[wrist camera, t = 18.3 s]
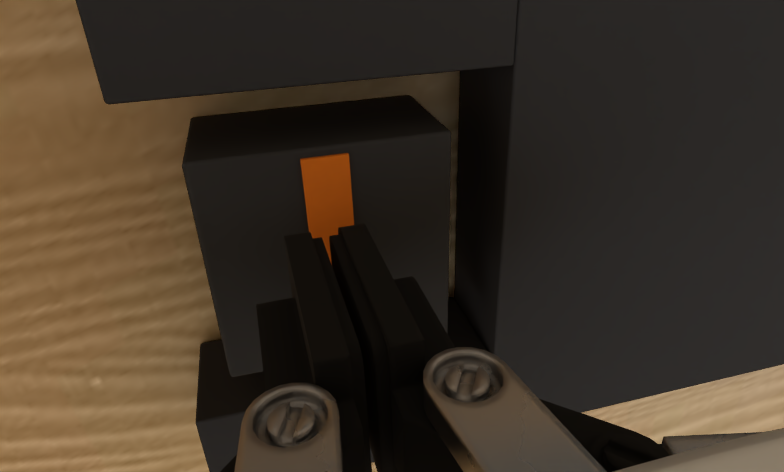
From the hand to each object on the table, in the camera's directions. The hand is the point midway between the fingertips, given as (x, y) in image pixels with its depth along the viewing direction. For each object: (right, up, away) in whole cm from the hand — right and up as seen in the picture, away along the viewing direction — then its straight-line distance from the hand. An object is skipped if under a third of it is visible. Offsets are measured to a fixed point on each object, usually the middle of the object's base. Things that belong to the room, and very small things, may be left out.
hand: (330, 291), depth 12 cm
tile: (-1, +2, +4) cm, 4 cm away
